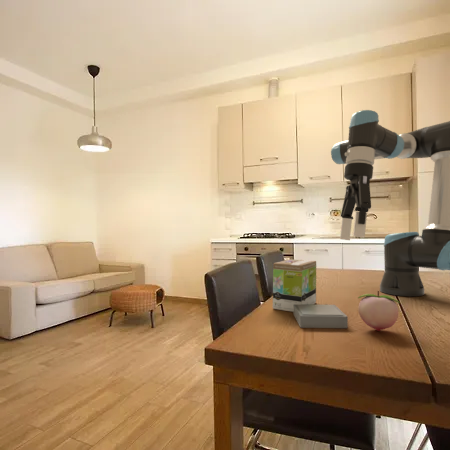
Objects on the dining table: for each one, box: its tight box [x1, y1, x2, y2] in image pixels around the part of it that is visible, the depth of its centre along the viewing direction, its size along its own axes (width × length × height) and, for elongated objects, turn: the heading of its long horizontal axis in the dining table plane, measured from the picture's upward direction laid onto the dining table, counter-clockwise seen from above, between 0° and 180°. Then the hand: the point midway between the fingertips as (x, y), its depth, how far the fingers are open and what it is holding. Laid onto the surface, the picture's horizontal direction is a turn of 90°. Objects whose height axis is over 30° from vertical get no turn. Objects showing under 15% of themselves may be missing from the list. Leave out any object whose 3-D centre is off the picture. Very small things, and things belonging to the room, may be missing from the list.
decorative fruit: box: [357, 290, 400, 332], centre depth 79 cm, size 9×8×10 cm
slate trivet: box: [293, 304, 349, 329], centre depth 88 cm, size 12×12×3 cm
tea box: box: [272, 259, 317, 313], centre depth 104 cm, size 15×10×15 cm
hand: (351, 238), depth 89 cm, fingers open, 13 cm apart
